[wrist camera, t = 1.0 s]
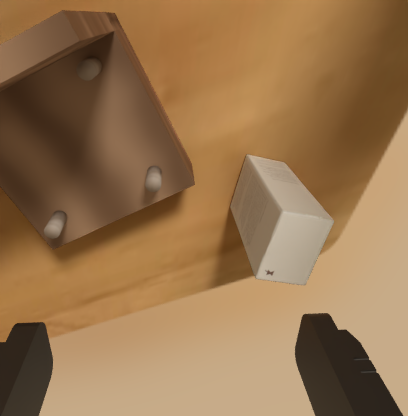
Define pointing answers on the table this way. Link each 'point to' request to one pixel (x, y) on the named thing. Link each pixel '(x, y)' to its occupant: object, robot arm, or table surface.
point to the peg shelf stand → (82, 128)
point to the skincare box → (278, 221)
